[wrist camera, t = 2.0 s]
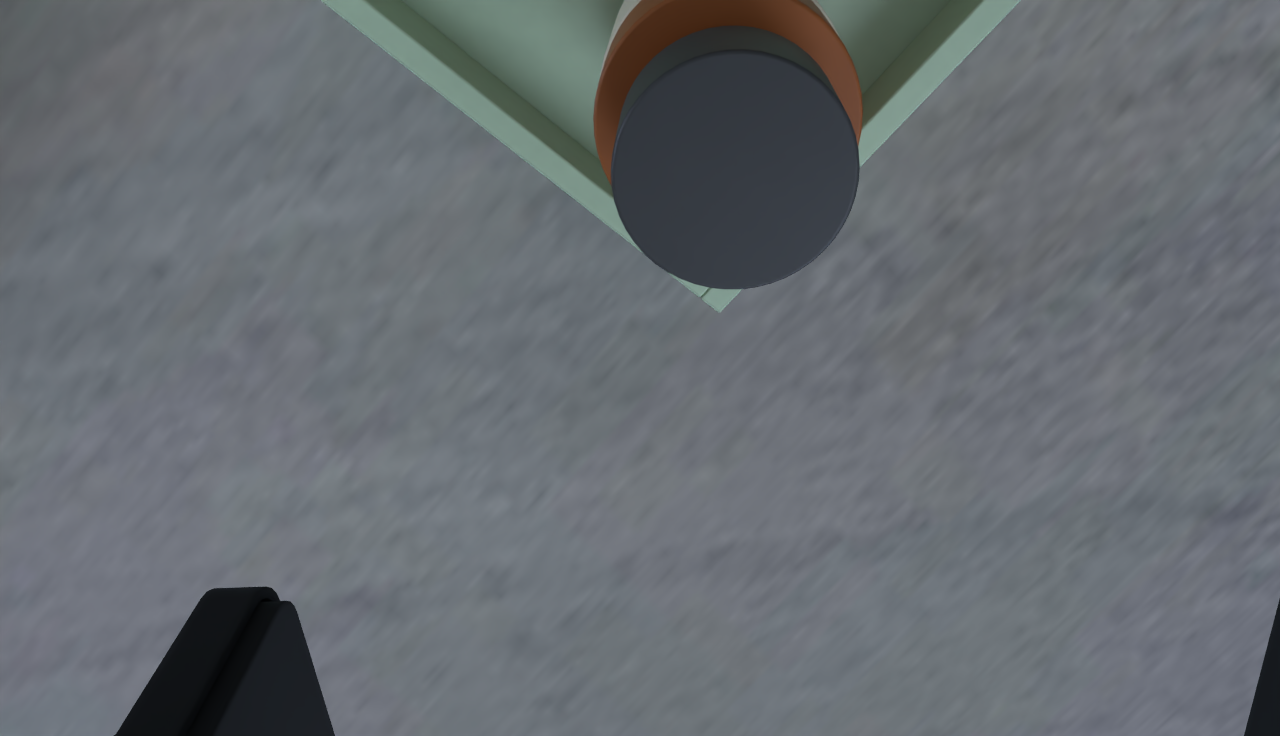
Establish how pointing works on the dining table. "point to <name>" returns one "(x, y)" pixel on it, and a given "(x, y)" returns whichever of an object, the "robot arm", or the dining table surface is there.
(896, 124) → the tray
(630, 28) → the spice bottle
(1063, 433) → the dining table surface
